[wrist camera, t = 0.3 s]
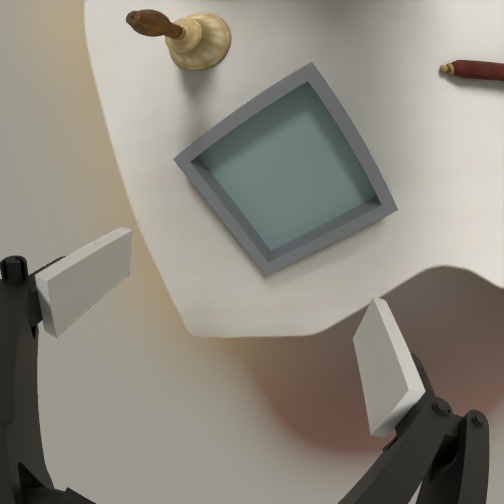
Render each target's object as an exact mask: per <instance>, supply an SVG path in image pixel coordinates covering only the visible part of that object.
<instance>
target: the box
mask: <svg viewBox="0 0 504 504" xmlns="http://www.w3.org/2000/svg"><path fill="white" fill-rule="evenodd" d="M173 160H174V161H175V162H176V163H177V165H178V166H179V167H180V169H181V170H182V171H183V172H184V174H185V175H186V176H187V177H188V179H189V180H190V181H191V182H192V184H193V185H194V186H195V187H196V189H197V190H198V191H199V193H200V194H201V195H202V196H203V198H204V199H205V200H206V201H207V203H208V204H209V205H210V206H211V208H212V209H213V210H214V211H215V213H216V214H217V215H218V217H219V218H220V219H221V220H222V222H223V223H224V224H225V225H226V227H227V228H228V229H229V230H230V232H231V233H232V234H233V235H234V237H235V238H236V239H237V240H238V242H239V243H240V244H241V245H242V247H243V248H244V249H245V251H246V252H247V253H248V254H249V256H250V257H251V258H252V259H253V261H254V262H255V263H256V264H257V266H258V267H259V268H260V269H261V271H262V272H263V273H264V274H265V276H266V275H268V274H270V273H272V272H274V271H276V270H278V269H280V268H283V267H285V266H287V265H289V264H291V263H293V262H295V261H297V260H299V259H301V258H303V257H305V256H307V255H309V254H312V253H314V252H316V251H318V250H320V249H322V248H324V247H326V246H328V245H330V244H332V243H334V242H336V241H338V240H340V239H342V238H344V237H346V236H348V235H350V234H352V233H354V232H356V231H358V230H360V229H362V228H364V227H366V226H368V225H370V224H372V223H374V222H376V221H378V220H380V219H382V218H383V217H385V216H387V215H389V214H391V213H393V212H395V211H397V210H398V209H397V207H396V205H395V202H394V200H393V198H392V196H391V194H390V192H389V190H388V187H387V185H386V183H385V181H384V179H383V177H382V175H381V173H380V171H379V169H378V167H377V166H376V164H375V162H374V160H373V158H372V156H371V154H370V152H369V151H368V149H367V147H366V145H365V143H364V142H363V140H362V138H361V136H360V135H359V133H358V131H357V130H356V128H355V126H354V124H353V123H352V121H351V120H350V118H349V116H348V115H347V113H346V111H345V110H344V108H343V107H342V105H341V104H340V102H339V100H338V99H337V97H336V96H335V94H334V93H333V91H332V90H331V88H330V87H329V86H328V84H327V83H326V81H325V80H324V78H323V77H322V76H321V74H320V73H319V71H318V70H317V69H316V67H315V66H314V65H313V63H312V62H311V63H309V64H308V65H306V66H304V67H302V68H301V69H299V70H297V71H296V72H294V73H292V74H291V75H289V76H287V77H286V78H284V79H282V80H281V81H279V82H278V83H276V84H275V85H273V86H271V87H270V88H268V89H267V90H265V91H264V92H262V93H261V94H259V95H258V96H256V97H255V98H253V99H252V100H250V101H249V102H247V103H246V104H244V105H243V106H242V107H240V108H239V109H237V110H236V111H235V112H233V113H232V114H230V115H229V116H228V117H226V118H225V119H224V120H222V121H221V122H219V123H218V124H217V125H215V126H214V127H213V128H212V129H210V130H209V131H208V132H206V133H205V134H204V135H202V136H201V137H200V138H199V139H197V140H196V141H195V142H194V143H192V144H191V145H190V146H189V147H187V148H186V149H185V150H184V151H182V152H181V153H180V154H179V155H178V156H176V157H175V158H174V159H173Z"/></svg>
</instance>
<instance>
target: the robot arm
mask: <svg viewBox="0 0 504 504" xmlns="http://www.w3.org/2000/svg"><path fill="white" fill-rule="evenodd" d="M131 242H132V230H130V229H126V228H123V227H120V228H118V229H116V230H114V231H112V232H110V233H108V234H106V235H105V236H103V237H101V238H99V239H97V240H95V241H93V242H91V243H89V244H88V245H86V246H84V247H82V248H80V249H79V250H77V251H75V252H73V253H72V254H70V255H67V256H63V257H60V258H58V259H56V260H54V261H52V263H49V264H47V265H46V266H44V267H42V268H40V269H39V270H37V271H35V272H34V273H32V274H30V275H29V276H28V269H27V261H26V259H25V258H24V257H22V256H9V257H6V258H5V259H3V260H2V261H1V262H0V270H1V275H2V279H0V504H96V503H94V502H92V501H90V500H89V499H87V498H85V497H83V496H82V495H80V494H78V493H76V492H75V491H73V490H72V489H70V488H67V489H66V491H61V490H57V489H54V486H53V483H52V480H51V477H50V475H49V473H48V471H47V469H46V465H45V461H44V455H43V448H42V442H41V433H40V423H39V412H38V394H37V353H38V351H37V350H38V333H39V330H38V325H37V324H38V323H39V322H41V321H42V320H43V325H44V329H45V331H46V332H48V333H49V334H51V335H53V336H54V337H56V338H57V337H58V336H60V334H62V333H63V332H64V331H65V330H66V329H67V328H68V327H69V326H71V325H72V324H73V323H74V322H75V321H76V320H77V319H78V318H80V317H81V316H82V315H83V314H84V313H85V312H86V311H87V310H89V309H90V308H91V307H92V306H93V305H94V304H96V303H97V302H98V301H99V300H100V299H101V298H103V297H104V296H105V295H106V294H107V293H108V292H110V291H111V290H112V289H113V288H114V287H116V286H117V285H118V284H119V283H120V282H122V281H123V280H124V279H125V278H126V277H128V276H129V275H130V258H131ZM353 342H354V346H355V351H356V355H357V360H358V365H359V370H360V375H361V380H362V386H363V390H364V396H365V402H366V408H367V414H368V420H369V426H370V433H371V436H388V435H389V434H390V433H391V432H392V430H393V429H394V428H395V429H396V434H397V435H396V437H394V438H393V439H392V441H390V443H389V444H387V446H385V447H384V448H383V453H382V454H381V455H380V457H379V458H378V459H377V460H376V461H375V463H374V464H373V465H372V466H371V468H370V469H369V470H368V471H367V472H366V473H365V475H364V476H363V477H362V478H361V479H360V480H359V481H358V483H357V484H356V485H355V486H354V487H353V488H352V489H351V490H350V492H348V494H346V496H345V497H344V498H343V499H342V500H341V501H340V502H339V503H338V504H408V503H409V501H410V500H411V498H412V496H413V495H414V493H415V491H416V490H417V488H418V486H419V485H420V483H421V481H422V484H421V487H420V491H419V494H418V497H417V501H416V504H486V498H487V488H488V474H489V425H488V421H487V419H486V417H485V416H484V415H483V413H481V412H479V411H477V410H470V411H469V412H468V413H467V414H466V415H465V416H464V417H461V416H458V415H455V414H452V413H453V412H452V409H451V407H450V405H449V404H448V403H447V402H446V401H445V400H443V399H441V398H439V397H436V396H435V394H434V391H433V389H432V386H431V384H430V381H429V379H428V377H427V374H426V372H425V371H424V367H423V365H422V363H421V361H420V360H419V359H418V358H417V356H416V355H415V354H413V353H410V352H409V350H408V348H407V345H406V343H405V341H404V339H403V336H402V334H401V332H400V330H399V328H398V325H397V323H396V322H395V319H394V317H393V315H392V313H391V311H390V309H389V307H388V305H387V303H386V301H385V300H382V299H379V298H375V297H373V298H372V300H371V302H370V305H369V307H368V309H367V311H366V313H365V315H364V317H363V320H362V322H361V324H360V326H359V328H358V330H357V332H356V334H355V336H354V338H353Z"/></svg>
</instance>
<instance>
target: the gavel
mask: <svg viewBox="0 0 504 504" xmlns="http://www.w3.org/2000/svg"><path fill="white" fill-rule="evenodd" d="M440 69H441V71H442V72H448V73H449V74H451V75H455V76H458V77H460V78H470V79H488V80H500V81H504V64H501V63H492V62H482V61H469V60H457V61H455V62H452V63H448V64H447V66H445V65H442V66H440Z"/></svg>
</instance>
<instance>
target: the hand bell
mask: <svg viewBox="0 0 504 504" xmlns="http://www.w3.org/2000/svg"><path fill="white" fill-rule="evenodd" d="M126 22H127V23H128V24H129V25H130V26H131V27H132V28H133V29H134V30H135V31H136V32H138V33H139V34H142V35H145V36H152V37H155V36H161V35H165V41H166V44H167V46H168V47H169V52H170V55H171V57H172V59H173V60H174V61H175V62H176V63H177V64H178V65H179V66H181V67H183V68H186V69H189V70H202V69H206V68H209V67H211V66H213V65H215V64H216V63H218V62H219V61H220V60H221V59H222V58H223V57H224V56H225V54H226V53H227V51H228V49H229V46H230V42H231V34H230V30H229V27H228V25H227V24H226V23H225V21H224V20H223V19H221V18H220V17H218V16H216V15H214V14H210V13H197V14H193V15H190V16H188V17H186V18H183V19H179V20H177V21H175V22H174V23H171V22H170V21H169V19H168V18H167V17H166V16H165V15H164V14H162V13H160V12H158V11H155V10H140V11H132V12H130V13H129V14H128V15H127V17H126Z"/></svg>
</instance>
